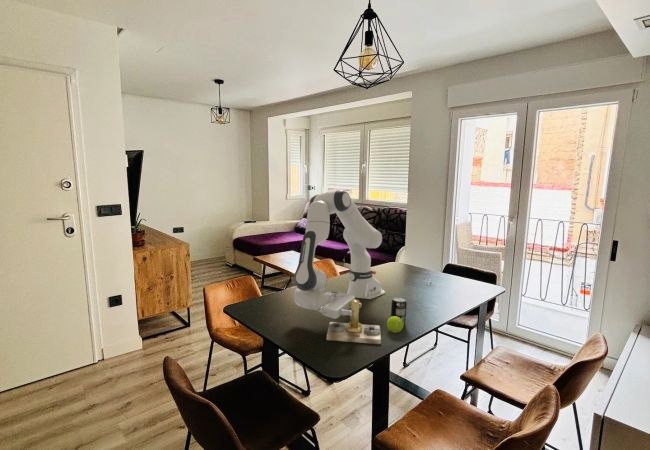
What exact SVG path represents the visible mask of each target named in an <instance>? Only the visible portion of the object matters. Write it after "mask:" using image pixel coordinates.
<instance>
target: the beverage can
mask: <svg viewBox="0 0 650 450" xmlns="http://www.w3.org/2000/svg"><path fill="white" fill-rule="evenodd" d="M406 300H407V299H406V298H404V297H401V296H396V297H393V298H392V301H391V310H390V317H392V316H397V317H399V318H400V319H401V320H402V321H403V327H404V326H405V325H406V320H407V319H406V318H407V316H406V315H407V301H406Z"/></svg>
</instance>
